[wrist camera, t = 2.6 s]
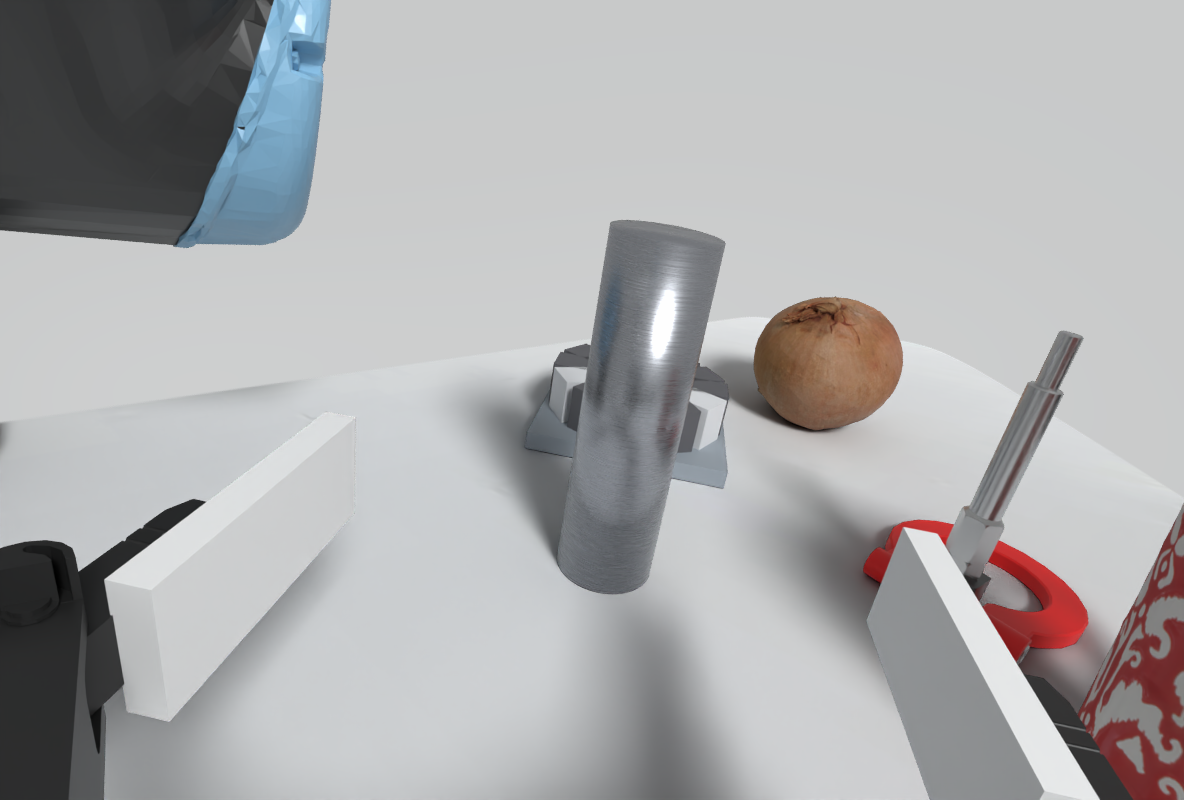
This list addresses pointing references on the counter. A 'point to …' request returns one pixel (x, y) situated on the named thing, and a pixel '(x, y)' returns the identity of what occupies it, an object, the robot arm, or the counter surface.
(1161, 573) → the mug
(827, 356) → the onion
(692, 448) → the chuck
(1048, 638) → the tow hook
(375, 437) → the counter surface
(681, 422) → the steel rod
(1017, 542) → the counter surface
